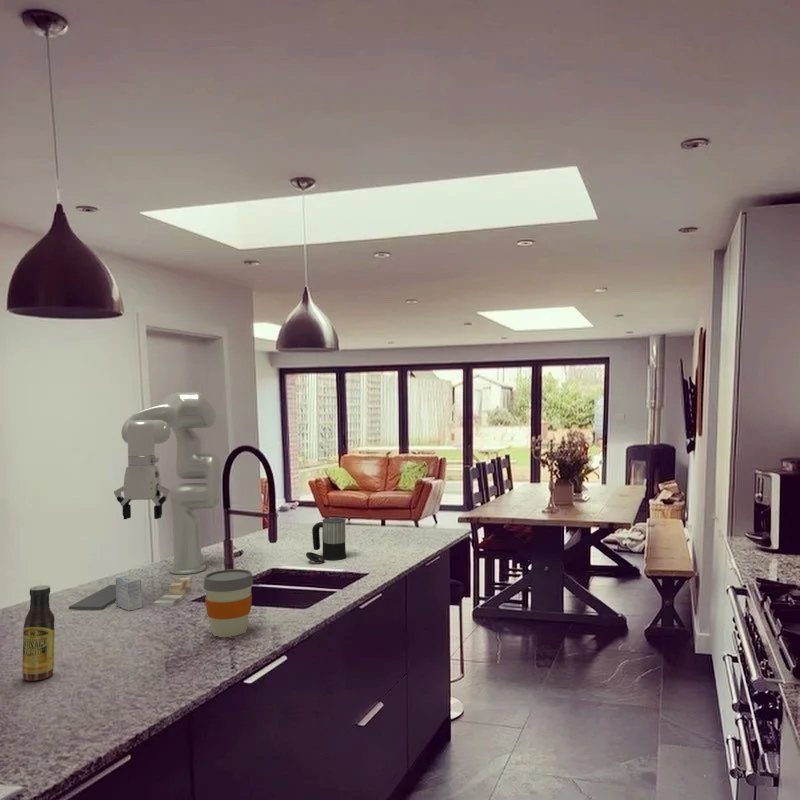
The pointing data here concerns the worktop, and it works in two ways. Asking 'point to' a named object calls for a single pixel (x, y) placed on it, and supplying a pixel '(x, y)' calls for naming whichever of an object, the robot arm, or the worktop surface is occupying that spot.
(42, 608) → the sauce bottle
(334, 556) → the milk frother
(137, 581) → the medicine box
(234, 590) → the reusable coffee cup
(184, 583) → the beige curved piece
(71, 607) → the mat
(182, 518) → the robot arm
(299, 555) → the worktop surface
